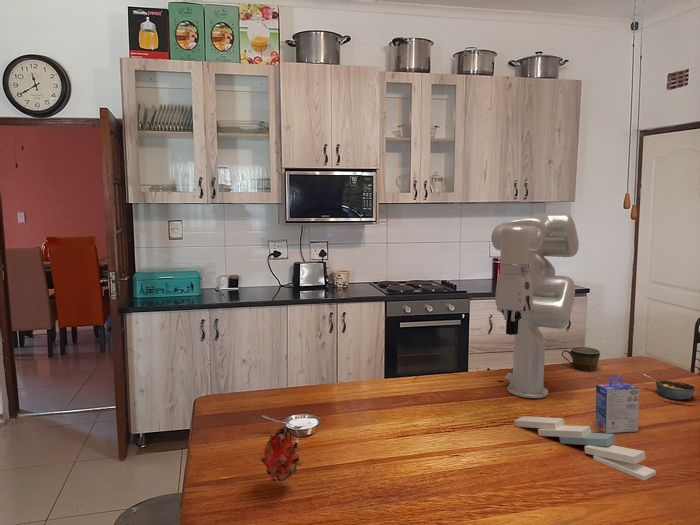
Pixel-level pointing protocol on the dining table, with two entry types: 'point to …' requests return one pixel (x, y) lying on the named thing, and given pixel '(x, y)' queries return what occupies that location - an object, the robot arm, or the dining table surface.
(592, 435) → the domino
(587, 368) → the ceramic cup
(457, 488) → the dining table surface
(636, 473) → the domino
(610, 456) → the domino
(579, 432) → the domino
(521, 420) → the domino
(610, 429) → the ink cartridge box
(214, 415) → the dining table surface
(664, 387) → the soup bowl
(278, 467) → the dragon fruit
